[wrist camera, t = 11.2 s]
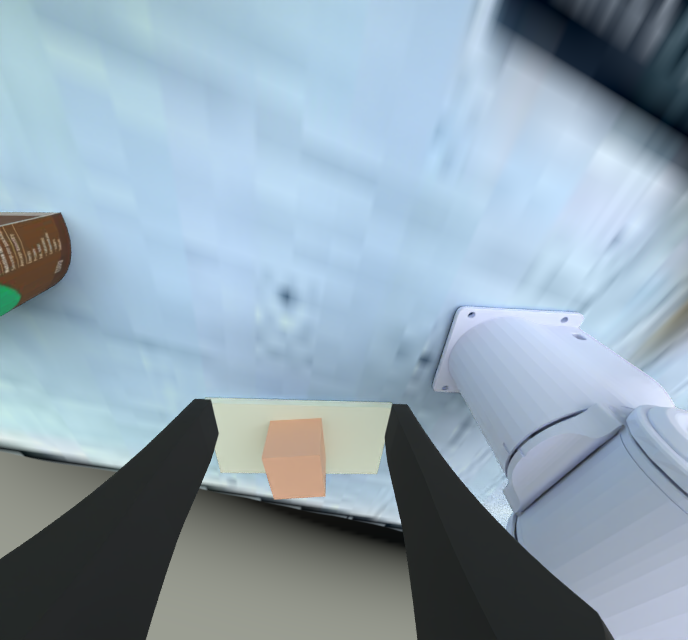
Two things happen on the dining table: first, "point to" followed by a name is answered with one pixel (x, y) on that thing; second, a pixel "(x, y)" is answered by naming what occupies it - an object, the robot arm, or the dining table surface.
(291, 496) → the light orange block
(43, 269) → the food container
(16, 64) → the dining table surface
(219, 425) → the mat
